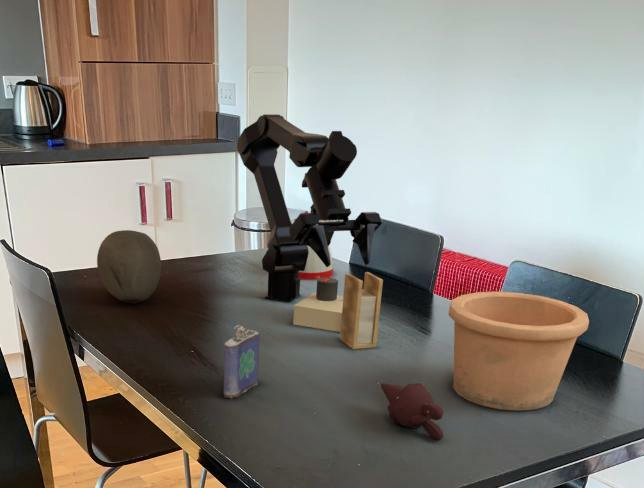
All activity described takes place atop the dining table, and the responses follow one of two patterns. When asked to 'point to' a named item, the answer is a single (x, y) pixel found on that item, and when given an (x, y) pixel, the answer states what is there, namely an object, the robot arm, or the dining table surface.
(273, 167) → the robot arm
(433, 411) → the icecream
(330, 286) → the dial
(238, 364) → the flask
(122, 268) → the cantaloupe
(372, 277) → the napkin holder
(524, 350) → the pottery
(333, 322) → the wooden block
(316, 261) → the kitchen timer
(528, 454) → the dining table surface
